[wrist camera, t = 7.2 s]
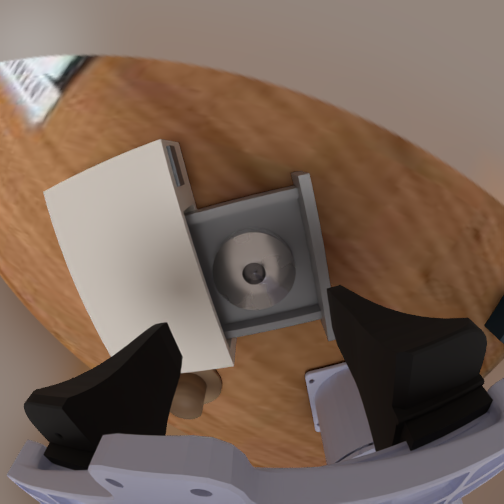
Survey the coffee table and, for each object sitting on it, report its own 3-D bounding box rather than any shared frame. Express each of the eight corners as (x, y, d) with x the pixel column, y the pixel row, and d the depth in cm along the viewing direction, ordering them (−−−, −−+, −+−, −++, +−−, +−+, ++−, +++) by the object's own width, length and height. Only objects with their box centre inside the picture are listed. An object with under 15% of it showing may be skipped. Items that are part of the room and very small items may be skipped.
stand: (229, 397, 24) (226, 425, 21) (175, 402, 25) (168, 428, 21) (210, 353, 23) (204, 382, 19) (151, 361, 23) (139, 387, 20)
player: (181, 141, 17) (163, 137, 14) (239, 334, 22) (236, 365, 18) (73, 184, 18) (43, 192, 15) (138, 349, 23) (123, 377, 19)
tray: (300, 170, 17) (309, 173, 14) (327, 314, 20) (337, 338, 17) (165, 205, 18) (149, 215, 15) (212, 339, 21) (206, 365, 18)
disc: (299, 290, 19) (302, 301, 18) (227, 306, 20) (225, 316, 18) (284, 219, 18) (286, 224, 16) (206, 237, 18) (202, 244, 17)
